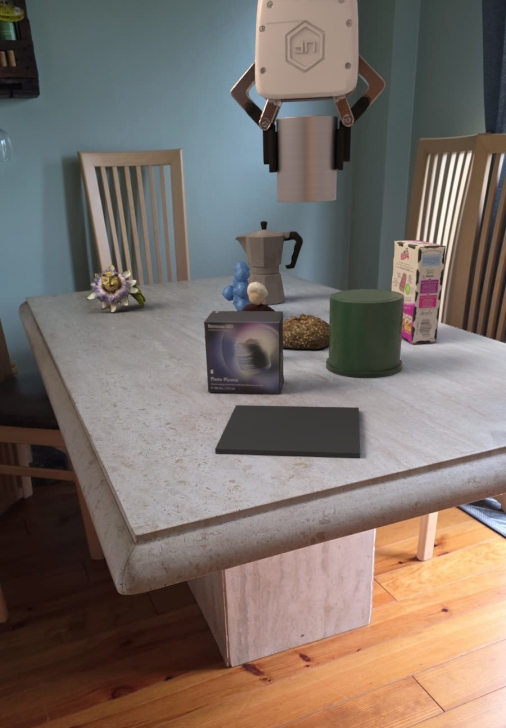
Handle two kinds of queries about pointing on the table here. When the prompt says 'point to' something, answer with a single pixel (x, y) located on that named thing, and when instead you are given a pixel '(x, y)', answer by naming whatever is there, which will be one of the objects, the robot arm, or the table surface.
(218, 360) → the small box
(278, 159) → the steel cup
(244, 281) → the grapes
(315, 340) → the bread roll
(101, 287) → the passion flower
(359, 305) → the green flanged canister
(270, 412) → the mat
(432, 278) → the candy bar box
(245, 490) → the table surface
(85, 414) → the table surface
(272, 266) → the coffeepot
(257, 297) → the grandmother figurine
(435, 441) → the table surface
